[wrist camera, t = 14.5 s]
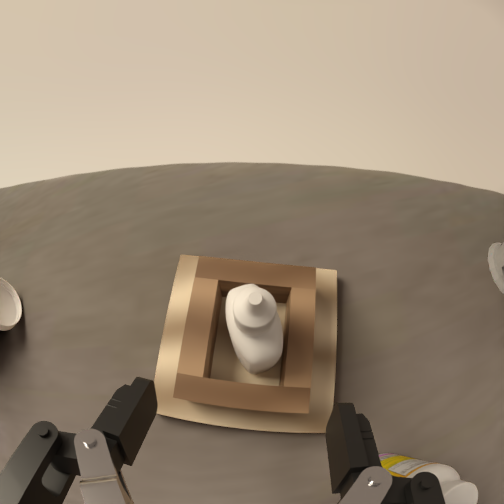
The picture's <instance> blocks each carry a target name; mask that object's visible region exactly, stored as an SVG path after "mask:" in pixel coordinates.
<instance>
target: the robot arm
mask: <svg viewBox="0 0 504 504" xmlns="http://www.w3.org/2000/svg"><path fill="white" fill-rule="evenodd" d="M157 408H158V402H157V396H156V390H155V384H154V381H153V380H148V379H144V378H141V377H136V378H135V380H134V381H133V383H132V384H131V386H129V385H126V384H125V385H124V386H122V387H121V388H119V389H118V390H116V392H115V393H114V395H113V396H112V399H110V401H109V402H108V405H106V407H105V408H104V410H103V411H102V413H101V414H100V416H99V417H98V419H97V420H96V422H95V423H94V425H93V426H92V427H91V428H89V429H83V430H81V431H79V432H78V433H77V434H74V433H67V432H61V431H58V430H57V428H56V426H55V425H54V424H52V423H50V422H47V421H41V422H38V423H36V424H34V425H33V426H32V428H31V429H30V431H29V432H28V433H27V435H26V436H25V438H24V439H23V440H22V442H21V443H20V445H19V446H18V448H17V449H16V451H15V452H14V454H13V455H12V456H11V458H10V459H9V461H8V463H7V464H6V466H5V467H4V469H3V470H2V472H1V473H0V504H62V503H63V501H64V499H65V497H66V495H67V493H68V491H69V489H70V487H71V485H72V483H73V480H74V478H75V476H76V475H79V476H81V478H82V481H80V489H81V493H82V496H83V500H84V503H85V504H134V502H133V500H132V497H131V495H130V493H129V490H128V488H127V485H126V482H125V480H124V477H123V474H122V472H121V468H122V466H123V464H127V465H130V466H132V464H133V462H134V460H135V458H136V456H137V453H138V451H139V449H140V447H141V445H142V443H143V441H144V439H145V437H146V434H147V432H148V430H149V428H150V426H151V424H152V422H153V420H154V418H155V416H156V413H157ZM326 443H327V451H328V459H329V468H330V477H331V486H332V494H333V493H340V495H341V499H340V501H339V502H338V503H337V504H445V500H444V496H443V493H442V489H441V486H440V482H439V480H438V478H437V477H436V475H434V474H433V473H430V472H420V473H417V474H416V475H415V476H414V477H413V478H406V477H397V476H393V475H391V474H390V472H389V471H388V470H386V469H385V468H383V467H382V465H381V462H380V458H379V454H378V451H377V447H376V443H375V440H374V436H373V433H372V429H371V426H370V423H369V421H368V420H367V418H366V417H365V416H364V415H363V414H356V412H355V408H354V405H353V403H336V404H335V405H334V407H333V410H332V413H331V415H330V418H329V420H328V423H327V426H326Z"/></svg>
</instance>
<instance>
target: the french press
mask: <svg viewBox="0 0 504 504" xmlns="http://www.w3.org/2000/svg"><path fill="white" fill-rule="evenodd" d="M488 262H489V268H490V271H491V274H492V277H493V279H494V282H495V283H496V285H497V286H498V288H499V289H500V291H501V292H502V293H503V294H504V242H503V244H502V243H499V242H497V243H493V244H492V245H491V247H490V248H489V253H488Z"/></svg>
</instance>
